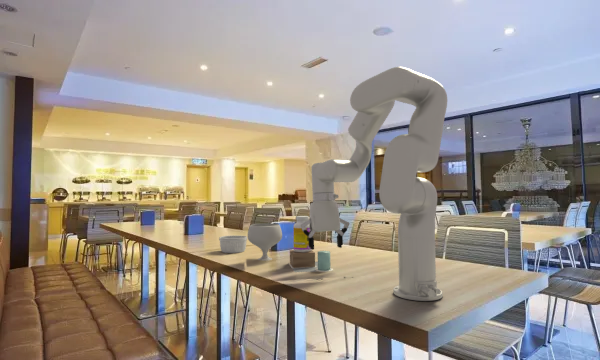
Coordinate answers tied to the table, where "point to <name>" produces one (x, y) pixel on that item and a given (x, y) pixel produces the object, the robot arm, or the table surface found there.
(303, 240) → the supplement bottle
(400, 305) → the table surface
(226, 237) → the ramekin
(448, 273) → the table surface
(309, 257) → the walnut plinth
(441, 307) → the table surface
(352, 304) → the table surface
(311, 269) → the build board
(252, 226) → the chalice
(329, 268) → the teal post
